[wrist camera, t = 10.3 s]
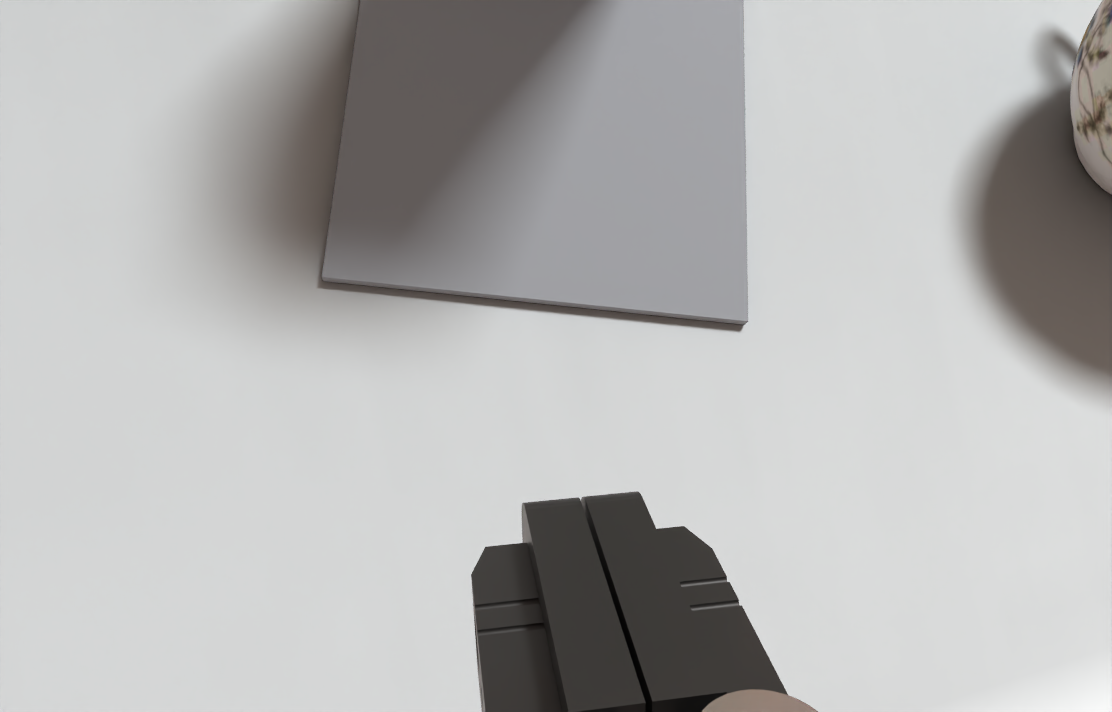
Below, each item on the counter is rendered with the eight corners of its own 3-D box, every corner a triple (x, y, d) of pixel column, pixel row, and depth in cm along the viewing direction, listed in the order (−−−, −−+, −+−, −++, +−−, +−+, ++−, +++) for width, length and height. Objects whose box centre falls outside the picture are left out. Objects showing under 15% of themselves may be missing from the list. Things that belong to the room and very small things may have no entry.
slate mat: (322, 280, 33) (321, 276, 33) (387, -185, 40) (387, -193, 39) (744, 324, 35) (747, 321, 35) (738, -125, 42) (741, -132, 41)
